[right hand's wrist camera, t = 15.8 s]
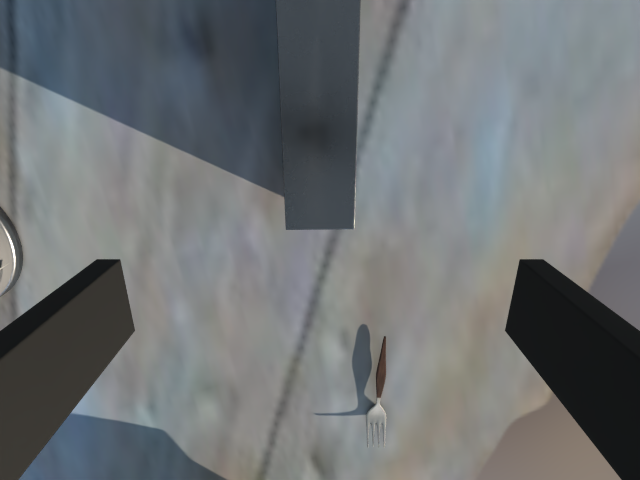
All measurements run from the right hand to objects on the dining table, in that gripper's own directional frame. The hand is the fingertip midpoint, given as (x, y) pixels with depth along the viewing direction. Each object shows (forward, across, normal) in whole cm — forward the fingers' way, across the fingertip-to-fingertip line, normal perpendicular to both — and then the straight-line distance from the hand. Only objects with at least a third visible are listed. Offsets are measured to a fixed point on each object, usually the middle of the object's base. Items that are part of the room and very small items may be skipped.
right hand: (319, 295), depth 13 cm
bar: (+27, 0, -10) cm, 29 cm away
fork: (+27, -7, +28) cm, 40 cm away
